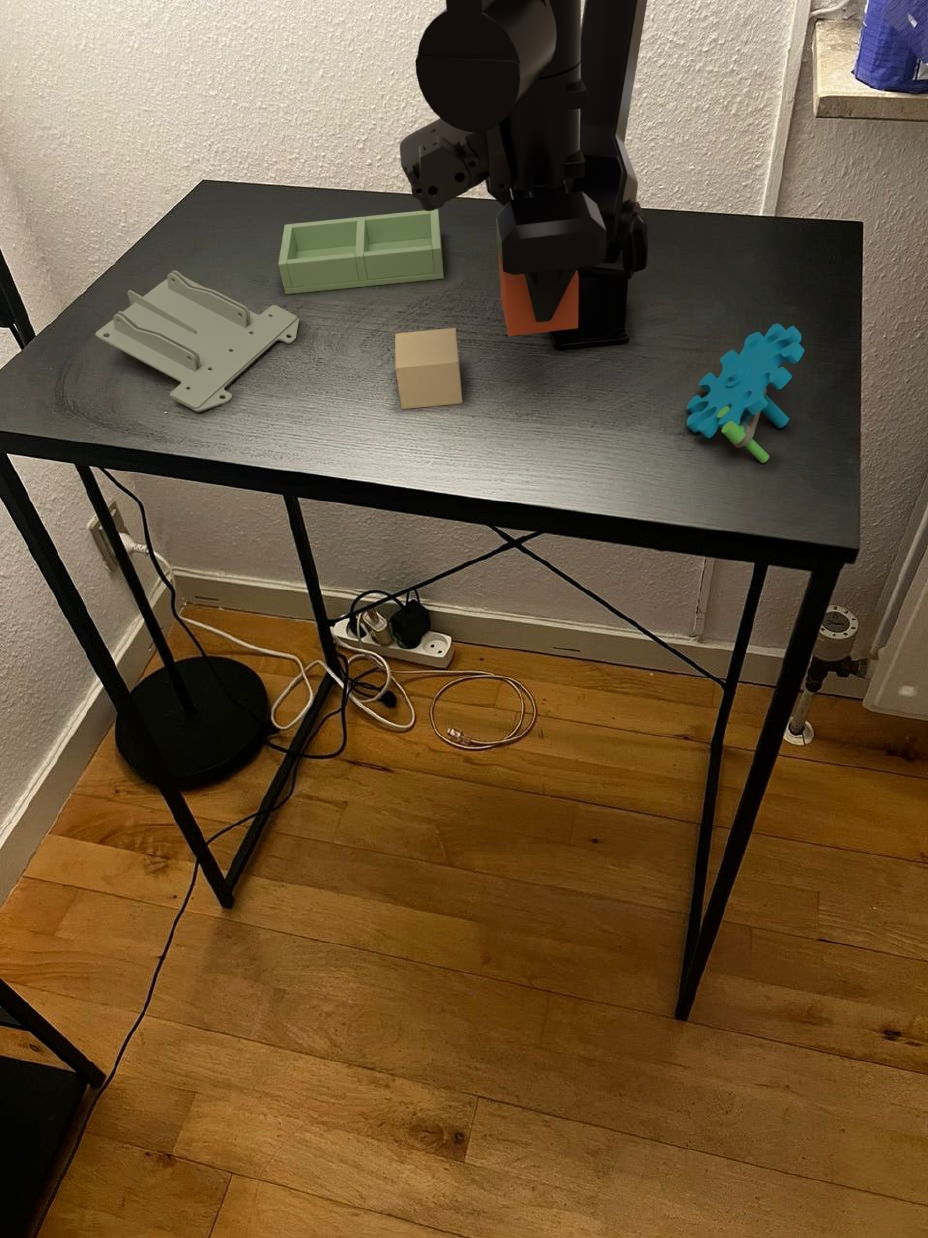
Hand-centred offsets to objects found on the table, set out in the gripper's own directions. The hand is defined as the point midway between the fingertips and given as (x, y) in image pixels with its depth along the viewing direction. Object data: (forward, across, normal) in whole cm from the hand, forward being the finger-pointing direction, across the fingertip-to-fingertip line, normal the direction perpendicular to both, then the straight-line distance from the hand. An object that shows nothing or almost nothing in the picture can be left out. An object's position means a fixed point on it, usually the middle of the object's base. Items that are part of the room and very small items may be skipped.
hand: (538, 300), depth 68 cm
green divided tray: (+10, -27, -14) cm, 32 cm away
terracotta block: (+1, 0, 0) cm, 1 cm away
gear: (+10, +4, +14) cm, 18 cm away
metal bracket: (+10, -14, -29) cm, 34 cm away
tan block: (+10, -5, -9) cm, 14 cm away
